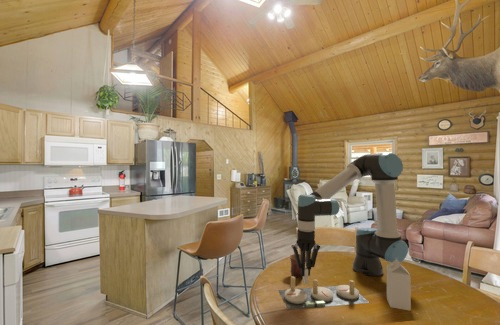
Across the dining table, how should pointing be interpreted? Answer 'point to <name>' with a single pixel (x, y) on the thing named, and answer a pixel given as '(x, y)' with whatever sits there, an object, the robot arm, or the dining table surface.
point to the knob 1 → (295, 294)
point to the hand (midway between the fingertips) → (305, 282)
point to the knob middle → (321, 292)
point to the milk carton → (398, 286)
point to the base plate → (315, 303)
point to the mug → (295, 266)
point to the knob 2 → (348, 290)
